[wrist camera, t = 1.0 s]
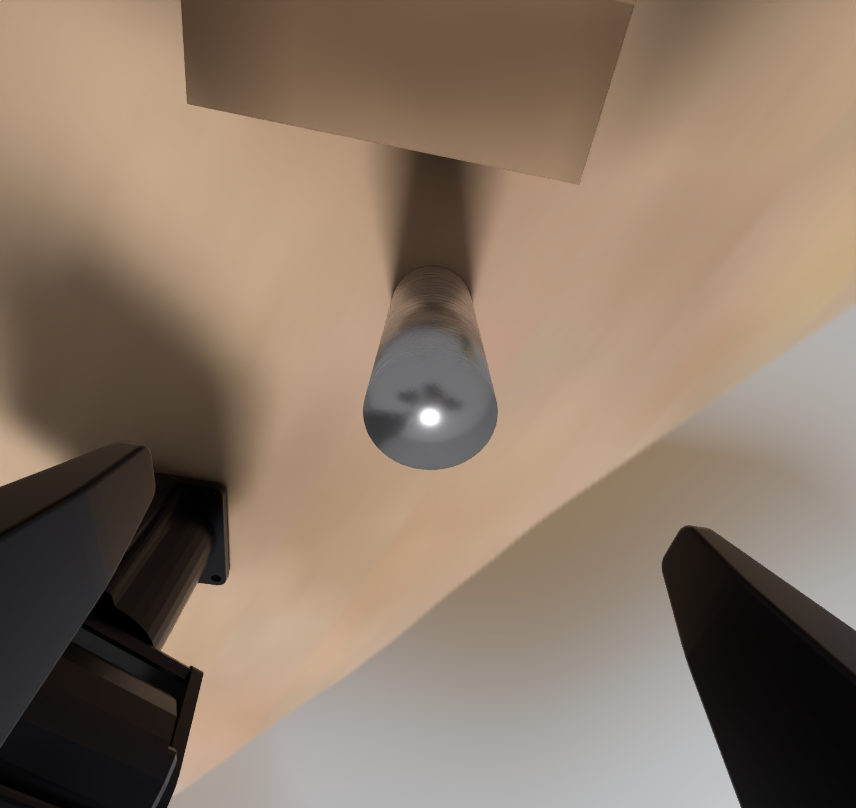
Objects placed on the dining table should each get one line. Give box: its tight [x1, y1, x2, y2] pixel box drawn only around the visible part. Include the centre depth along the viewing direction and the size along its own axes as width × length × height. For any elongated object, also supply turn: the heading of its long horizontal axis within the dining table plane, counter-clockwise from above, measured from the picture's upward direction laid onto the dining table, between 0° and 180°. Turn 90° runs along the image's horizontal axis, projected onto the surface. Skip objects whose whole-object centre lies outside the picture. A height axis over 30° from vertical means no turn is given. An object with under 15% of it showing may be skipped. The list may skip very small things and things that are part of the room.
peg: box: [363, 266, 498, 470], centre depth 14 cm, size 3×3×8 cm
